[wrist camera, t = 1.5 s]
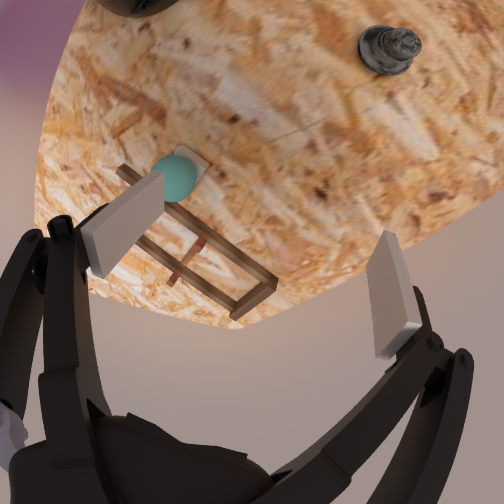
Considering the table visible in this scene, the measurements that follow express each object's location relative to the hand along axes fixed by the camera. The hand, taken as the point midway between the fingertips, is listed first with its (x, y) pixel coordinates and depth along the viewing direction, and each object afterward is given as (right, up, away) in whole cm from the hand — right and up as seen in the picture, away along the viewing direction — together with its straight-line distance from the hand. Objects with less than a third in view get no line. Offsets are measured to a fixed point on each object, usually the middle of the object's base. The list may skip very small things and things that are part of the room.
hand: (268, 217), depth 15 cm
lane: (-12, 0, +29) cm, 32 cm away
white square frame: (-10, +10, +21) cm, 25 cm away
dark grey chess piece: (+14, +21, +7) cm, 26 cm away
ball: (-11, +7, +17) cm, 22 cm away
